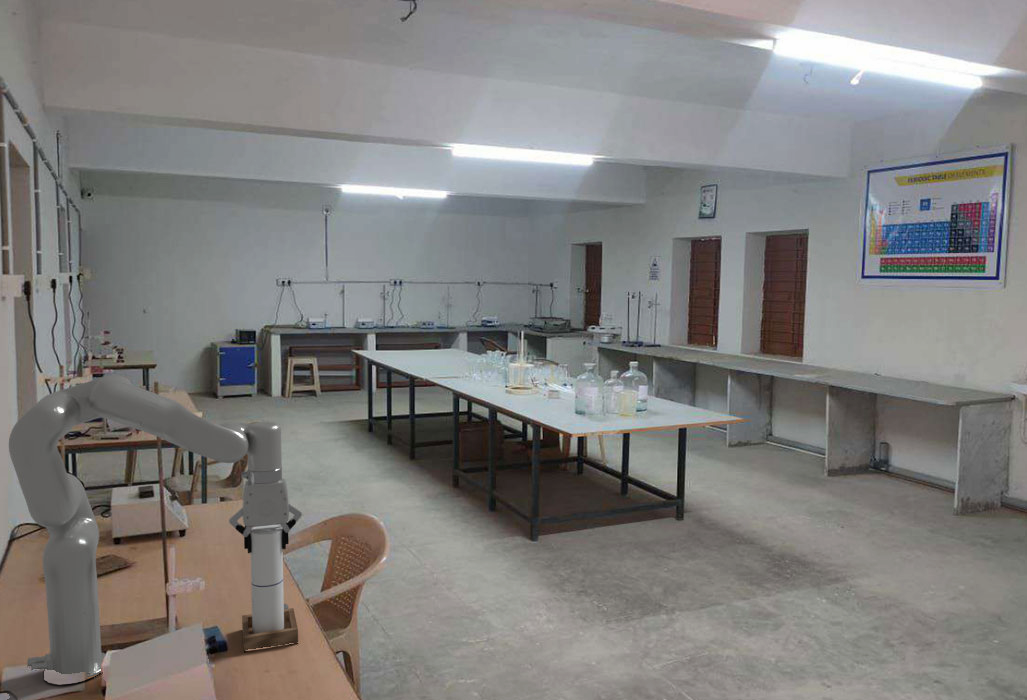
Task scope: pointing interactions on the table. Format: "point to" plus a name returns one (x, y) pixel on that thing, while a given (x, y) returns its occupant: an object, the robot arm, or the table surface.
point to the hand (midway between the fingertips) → (266, 548)
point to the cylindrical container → (267, 578)
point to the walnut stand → (270, 632)
